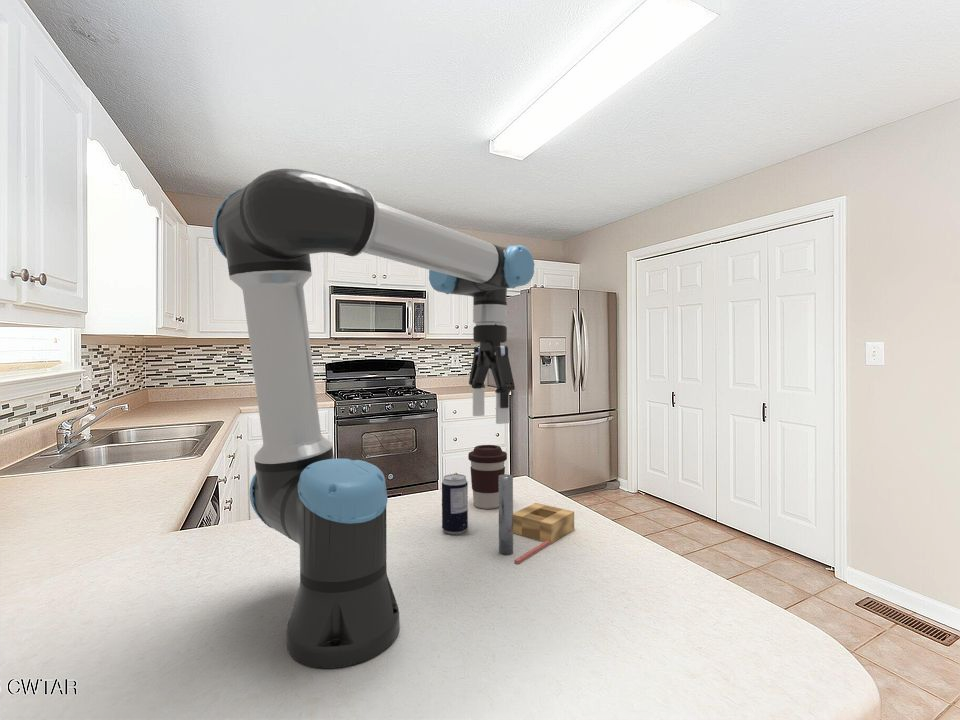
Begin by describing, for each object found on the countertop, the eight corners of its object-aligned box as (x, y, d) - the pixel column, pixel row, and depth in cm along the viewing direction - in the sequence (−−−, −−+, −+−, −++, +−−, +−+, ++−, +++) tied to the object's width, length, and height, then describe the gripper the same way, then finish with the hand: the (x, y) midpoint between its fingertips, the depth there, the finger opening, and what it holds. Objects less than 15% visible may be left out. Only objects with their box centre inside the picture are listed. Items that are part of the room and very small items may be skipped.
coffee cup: (462, 502, 124) (462, 445, 124) (496, 497, 129) (496, 442, 128) (478, 513, 115) (478, 452, 115) (514, 507, 120) (513, 448, 119)
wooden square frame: (551, 543, 97) (551, 524, 97) (511, 532, 103) (511, 514, 103) (574, 529, 105) (574, 511, 105) (535, 519, 111) (535, 502, 111)
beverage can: (469, 526, 107) (469, 473, 107) (466, 536, 101) (465, 480, 101) (444, 525, 107) (444, 473, 107) (439, 535, 102) (439, 479, 102)
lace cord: (518, 564, 88) (518, 561, 88) (514, 563, 88) (514, 559, 88) (550, 543, 97) (550, 540, 97) (547, 542, 98) (547, 539, 98)
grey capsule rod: (507, 556, 91) (507, 478, 91) (496, 552, 93) (495, 476, 93) (515, 551, 93) (515, 475, 93) (504, 547, 95) (504, 473, 95)
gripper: (531, 321, 96) (530, 426, 96) (484, 328, 119) (483, 412, 119) (497, 320, 93) (497, 428, 94) (456, 327, 116) (455, 413, 117)
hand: (489, 419), depth 107 cm, fingers open, 13 cm apart
